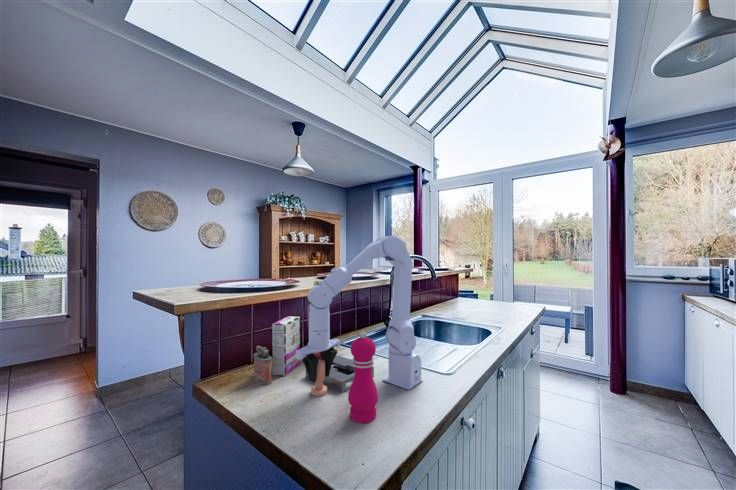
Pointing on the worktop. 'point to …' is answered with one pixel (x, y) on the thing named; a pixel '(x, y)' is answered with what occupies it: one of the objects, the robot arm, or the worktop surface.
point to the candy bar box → (285, 345)
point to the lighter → (262, 366)
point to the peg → (319, 380)
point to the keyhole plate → (340, 374)
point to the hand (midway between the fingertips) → (319, 378)
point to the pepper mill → (363, 381)
